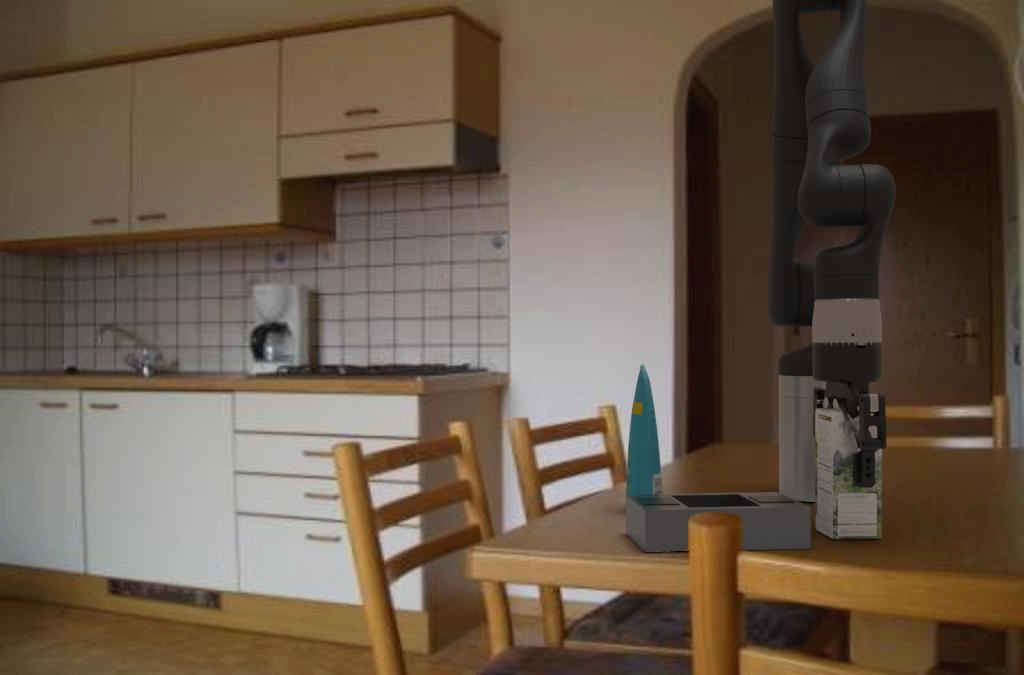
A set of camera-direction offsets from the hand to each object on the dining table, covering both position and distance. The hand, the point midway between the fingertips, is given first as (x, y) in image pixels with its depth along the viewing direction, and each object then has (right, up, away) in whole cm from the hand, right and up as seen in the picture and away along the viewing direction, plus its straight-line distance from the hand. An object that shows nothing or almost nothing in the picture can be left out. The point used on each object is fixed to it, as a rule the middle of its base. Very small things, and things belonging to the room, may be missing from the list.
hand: (847, 481), depth 111 cm
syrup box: (0, -6, 0) cm, 6 cm away
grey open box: (-16, -6, -3) cm, 17 cm away
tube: (-21, -7, +15) cm, 27 cm away
